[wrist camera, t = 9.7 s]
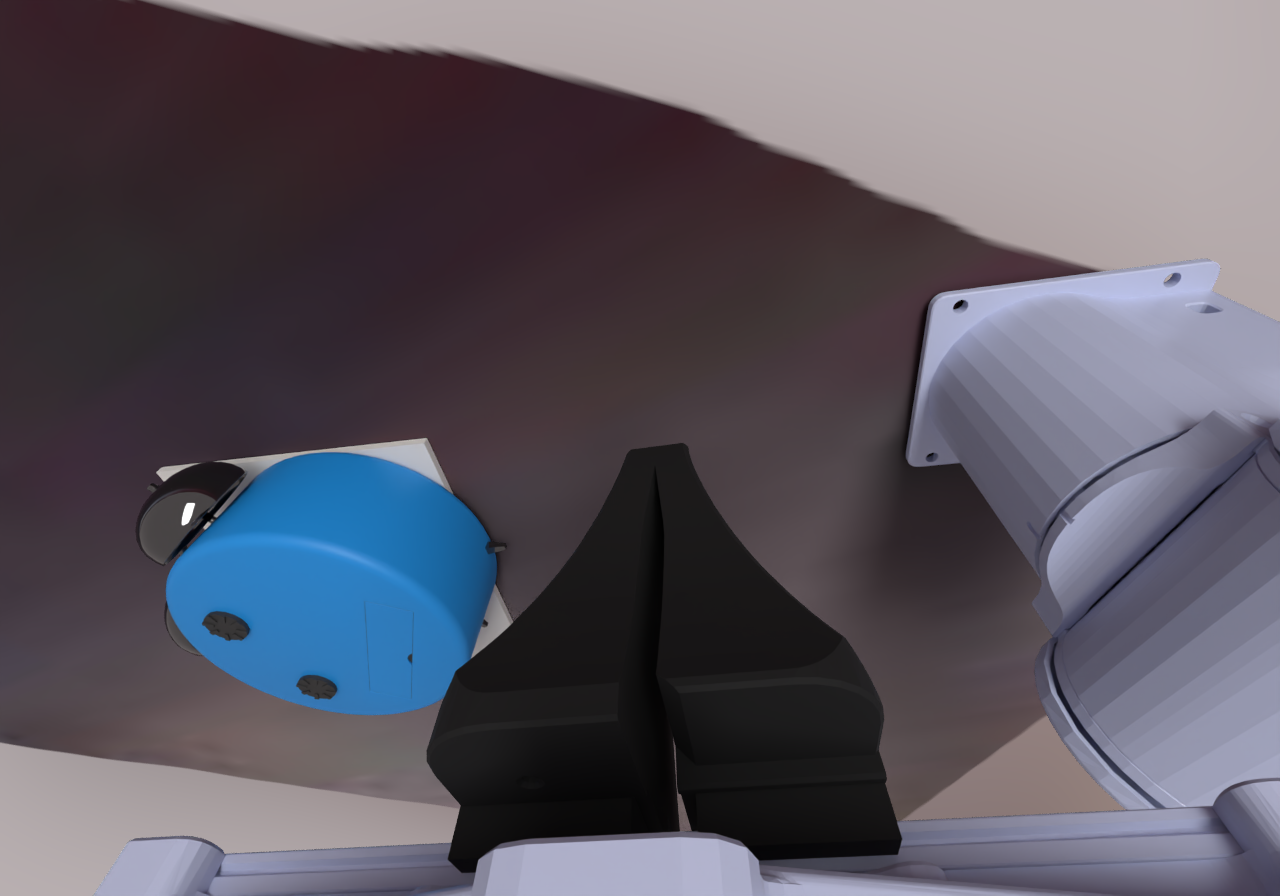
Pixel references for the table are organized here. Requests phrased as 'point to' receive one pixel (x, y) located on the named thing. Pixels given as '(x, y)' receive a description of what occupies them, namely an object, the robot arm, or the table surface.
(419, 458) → the mat
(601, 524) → the robot arm
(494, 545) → the alarm clock
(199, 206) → the table surface
